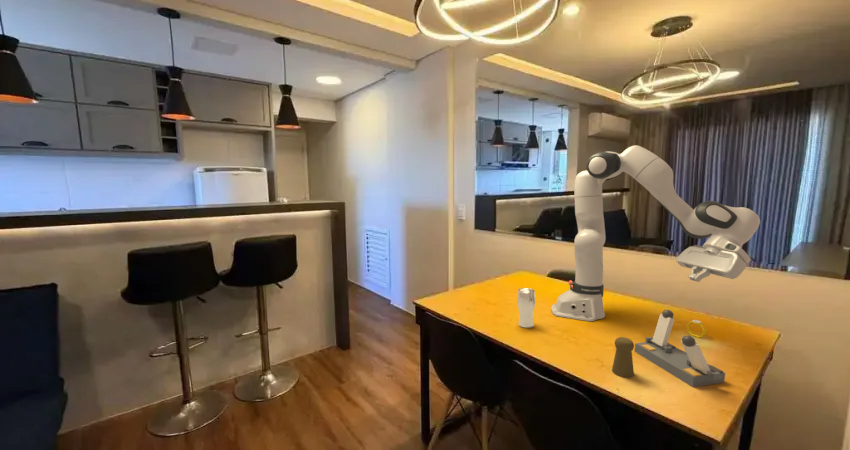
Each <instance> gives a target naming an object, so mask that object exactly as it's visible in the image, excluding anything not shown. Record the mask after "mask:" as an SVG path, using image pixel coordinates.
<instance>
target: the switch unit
mask: <svg viewBox="0 0 850 450" xmlns="http://www.w3.org/2000/svg"><path fill="white" fill-rule="evenodd" d="M651 339H653V336H649V337H645V342H644V341H642V342H635V344H634V353H637V355H640V356H641V357H643V358H645V359H646V360H648V361H650V362H651V363H653V364H654V365H656V366H658V367H659V368H660V369H663V370H664V371H665V372H667V373H669V374H671V375H673V376H674V377H676V378H677V379H679V380H680V381H682V382H684V383H686V384H687V385H689V386H690V387H692V388H696V387H703V386H709V385H714V384H715V385H716V384H722V383H724V384H725V379H726V372H724V371H723V370H721V369H720V368H717V367H716V366H714V365H711V364H709V363H707V364H708V366H709V368H710V372H712V373H711V376H709V375H707V374H704V373H703V372H701V371H699V370H697V369H695V368H694V367H693V366H691V362H690V360H689V358H688V356H687V353H686V351H685V350H682V349H681V348H678V347H676V346H675V345H673V344H671V343H669V342H668V343H667V347H664V349H663V348H661V347H659V346H657V345H655V344H654V343H652V342H650V340H651Z"/></svg>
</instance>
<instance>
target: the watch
mask: <svg viewBox="0 0 850 450" xmlns="http://www.w3.org/2000/svg"><path fill="white" fill-rule="evenodd" d="M692 324H694V325H698V326H700V327H701V330H702V333H701V335H697V334H694V333H693V332H692V330H691V328H690V325H692ZM686 332H687V333H688V334H689V336H692V337H694V338H698V339H699V338H703V337H705V335H706V332H707V329H706V327H705V326H704V325H703V324H702V321H700V320H699V319H698V320H697V319H692V320H691V321H689V322H688V323H687V324H686Z"/></svg>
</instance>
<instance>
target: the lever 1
mask: <svg viewBox="0 0 850 450" xmlns="http://www.w3.org/2000/svg"><path fill="white" fill-rule="evenodd" d="M674 323H675V318H674V312H673V311H672V310H670V309H664V310H663V311H662V313H660V314H659V317H658V320H657V324H656V327H655V329H654V334H653V336H652V337H653V339H651V340H650V342H652V343H654V344H655V345H657V346H659V347H661V348H663V349H664V347H667V343H669V339H670V337H671V336H670V335H671V334H672V333H671V332H672V329H673V325H674Z"/></svg>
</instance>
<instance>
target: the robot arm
mask: <svg viewBox="0 0 850 450" xmlns="http://www.w3.org/2000/svg"><path fill="white" fill-rule="evenodd" d="M624 173H626V174H628V175H629V176H630V177H631V178H632V179H634V180H635V181H637V182H638V183H639V184H640V185H641V186H642V187H644V189H645V190H647V191H648V192H649V194H651V195H652V197H653V198H655V200H656V201H657V202H658V203H659V204H660V205H661V206H662V207H663V208H664V209H665V210H666V211H667V212H668V213H669V214H670V215H672V217H673V218H674V219H675V220H676V221H677V222H678V223H679V225H680V228H681V229H682V231H683V232H684V233H685V235H687V236H688V237H690V238H693V239H695V240H704V239H705V240H706V239H707V240H706V241H705V242H704V243H703V244H702V245H699V244H694V245H691V246H690V245H689V246H688V247H687V248H686V249H684V250H683V251H681V253H679V255H678V256H677V257H676V258H675V259H676V262H677V264H678V265H679V266H681V267H683V268H687V269H689V270H690V269H691V271H690V274H689V275H688V278H689V280H691V281H694V282H697V283H699V282H701V280H702V279H705V278H707V277H710V275H715V276H718V277H723V278H727V279H730V280H734V279H737V278H738V277H739V276H741V274H742V273H743V272H744V271H745V269H746V267H747V264H749V263H750V262H751V261H752V259H751V257H750V256H749V255H748V254H747V252H746V251H745V250H744V249H743V246H744V244H746V243H747V242H749V240H750V239H751V238H752V237H753V235H754V234H755V233H756V231H758V229H759V227H760V224H761V219H760V216H759V215H758V214H757V213H756V212H755V211H754V210H752V209H751V208H748V207H742V206H740V207H733V206H729V205H725V204H722V203H721V202H718V201H715V200H706V201H703V202H701V203H699V204H698V205H697V206H695V208H694V209H693V208H692V207H691V206H690V205H689V204H688V203H687V202H686V201H684V200H683V198H681V197H680V196H679V195H678V193H677V192H676V190H675V187H674V171H673V169H672V168H671V167H670V165H669V164H668V163H667V162H666V161H665V160H663V159H662V158H661V157H660V156H658V155H656V154H655V153H654V152H652V151H650V150H648V149H646V148H645V147H644V146H640V145H638V144H637V145H635V144H634V145H631V146H629V147H627V148H626V149H625V150H623V152H621V153H620V152H618V151H617V152H616V151H608V150H607V151H599V152H596V153H594V154H592V155H591V156H590V157H589V158H588V160H587V162H586V170H582V171H580V172H579V173H577V175H576V176H575V181H574V191H573V192H574V193H573V194H574V195H573V196H574V213H575V214H574V215H575V220H576V225H577V234H576V235H575V237H574V247H573V248H574V260H575V261H574V262H575V274H574V275H575V278H574V279H575V280H574V281H573V280H572V279H571V280H569V281H568V285H569V289H568V290H567V291H565V292H563V293H561V294H560V295H559V296H558V297H557V300H556V303H554V304H552V306H551V309H550V311H551V314H552V315H554V316H555V317H559V318H560V317H561V318H566V319H574V320H579V321H586V322H594V321H596V320H597V321H598V320H601V319H604V318H605V317H606V313H605V309H604V301H603V300H604V299H603V297H604V293H605V292H604V283H603V279H604V277H603V276H604V262H603V261H604V258H603V255H604V254H603V253H604V250H603V247H604V245H605V243H606V240H607V239H606V237H607V236H606V228H605V227H606V226H605V217H604V199H603V184H604V183H605V181H606V182H607V181H610V180H611V179H615V178H617V177H620V176H621V175H622V174H624Z"/></svg>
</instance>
